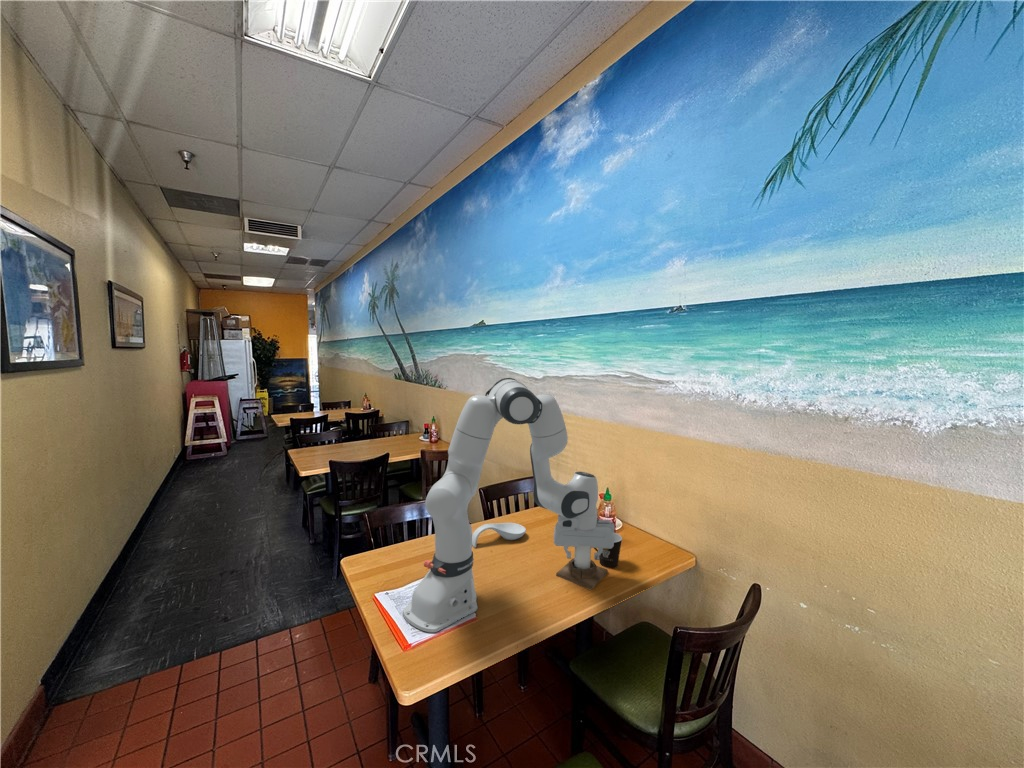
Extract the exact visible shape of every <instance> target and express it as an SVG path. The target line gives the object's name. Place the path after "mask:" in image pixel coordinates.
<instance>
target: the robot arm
mask: <svg viewBox="0 0 1024 768" xmlns="http://www.w3.org/2000/svg"><path fill="white" fill-rule="evenodd" d="M502 419H504V420H505V421H507V422H509V423H511V424H514V425H524V424H527V425H528V429H529V434H530V438H531V444H530V448H529V456H530V463H531V471H532V478H533V499H534V500H533V501H534V502H535V504H536V505H537V506H538V507H540V508H542V509H544V510H549V511H550V512H552V513H554V514H556V515H557V522H556V524H555V525H554V530H553V544H554V545H555V546H556V547H563V550H564V551H565V554H566V559H570V560H572V551H569V547H570V548H575V547H577V545H582V546H590V548H591V549H592V548H593V549H594V548H596V549H597V550H598V551H596V552H594V553H593V558H594V560H595V561H599V556H600V554H601V553H602V552H603V548H606V549H611V548H612V547H613V546H614V539H613V532H614V533H615V527H616V526H615V523H614V522H613V521H611V520H610V519H607V520H605V519H598V509H597V503H598V499H599V487H598V480H597V477H596V476H595V475H594V474H591V473H590V472H585V471H576V472H573V477H572V479H571V480H569V482H568V483H566V484H563V483H561V482H559V481H557V480H556V479H554V477H553V476H552V473H551V466H550V458H551V459H552V458H554V457H555V456H558V455H559V454H561V453H562V452H563V451H564V450H565V448H566V447H567V445H568V443H569V442H568V439H569V438H568V431H567V427H566V423H565V419H564V417H563V413H562V411H561V408H560V406H559V402H557V399H556V398H555V397H554V396H552V395H550V394H545V393H542V394H538V395H537V394H536V395H535V394H534V392H532V391H531V390H529V388H528V387H527V386H526V385H525V384H524V383H523V382H520V381H519V380H517V379H516V378H511V377H506V378H505V377H503V378H501V379H499V380H497V381H496V382H495V383H494V384H493V385H492V387H491V388H489V390H487V391H486V392H485V395H484V394H476V395H475V394H474V395H472V396H470V397H469V398H468V399H467V400H466V402H465V404H464V405H463V408H462V410H461V412H460V414H459V416H458V419H457V423H456V425H455V428H454V431H453V434H452V436H451V440H450V443H449V446H448V449H447V454H448V457H447V458H448V459H447V460H448V461H447V465H446V469H445V472H444V474H443V475H442V477H441V478H440V479H439V480H438V481H436V482H435V483H434V484H433V485H432V486H431V488H430V489H429V491H428V493H427V495H426V498H425V500H424V501H425V505H424V506H425V509H426V511H427V514H428V515H429V516H430V517H431V519H432V521H433V527H434V548H435V550H434V553H433V557H432V560H431V561H430V560H429V559H426V560H424V562H423V567H425V568H427V569H428V570H429V571H428V572H427V573H426V574H425V575H424V577H423V578H422V580H421V581H420V582H419V584H418V585H417V586H416V587H415V589H414V590H413V592H412V596H411V602H409V603H408V604H407V606H405V607H404V608H403V609H402V616H403V617H404V619H405V621H406V622H407V623H409V624H410V625H412V627H415V628H417V629H418V630H420V631H422V632H423V631H424V632H427V633H437V632H439V631H442V630H443V629H444V628H446V627H449V626H450V625H452V624H454V623H456V622H458V621H459V620H461V618H462V619H464V618H465V617H467V616H469V615H471V614H473V613H475V612H476V611H478V603H477V599H478V597H477V592H476V588H475V580H474V574H473V573H474V572H473V567H474V560H475V559H474V552H473V549H472V548H473V546H472V534H473V528H472V525H471V524H470V521H469V516H468V508H469V503H470V501H471V500H472V499H473V498H474V496H475V495H476V493H477V491H478V487H479V483H480V478H481V476H482V475H481V474H482V470H483V464H484V461H485V457H486V456H487V452H488V449H489V448H490V444H491V440H492V437H493V434H494V432H495V431H494V430H495V428H496V425H497V424H498V423H499V421H501V420H502ZM468 614H469V615H468ZM463 617H464V618H463ZM457 620H458V621H457Z"/></svg>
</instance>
